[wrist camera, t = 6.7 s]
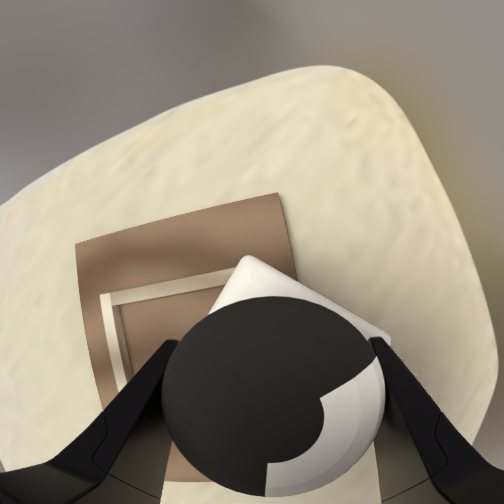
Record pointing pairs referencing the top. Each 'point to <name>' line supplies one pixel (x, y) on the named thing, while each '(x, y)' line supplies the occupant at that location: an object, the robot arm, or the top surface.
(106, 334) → the walnut stand
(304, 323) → the medicine bottle
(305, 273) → the top surface
